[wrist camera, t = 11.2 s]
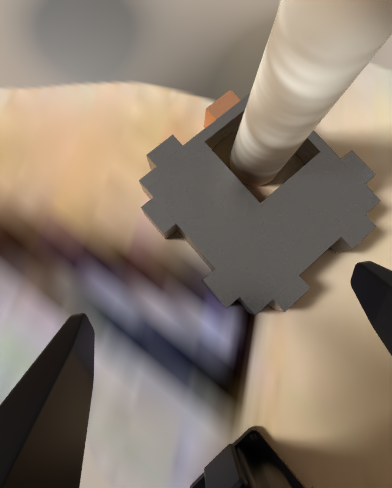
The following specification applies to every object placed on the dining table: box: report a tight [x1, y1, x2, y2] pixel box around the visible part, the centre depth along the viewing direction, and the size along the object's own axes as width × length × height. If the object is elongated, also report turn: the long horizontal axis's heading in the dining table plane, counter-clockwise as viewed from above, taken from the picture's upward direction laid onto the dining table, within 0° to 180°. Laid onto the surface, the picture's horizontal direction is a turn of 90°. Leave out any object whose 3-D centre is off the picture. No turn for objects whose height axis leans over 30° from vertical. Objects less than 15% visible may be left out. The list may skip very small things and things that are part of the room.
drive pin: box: [229, 0, 392, 186], centre depth 18 cm, size 4×4×14 cm
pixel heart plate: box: [139, 90, 380, 315], centre depth 23 cm, size 15×15×2 cm
